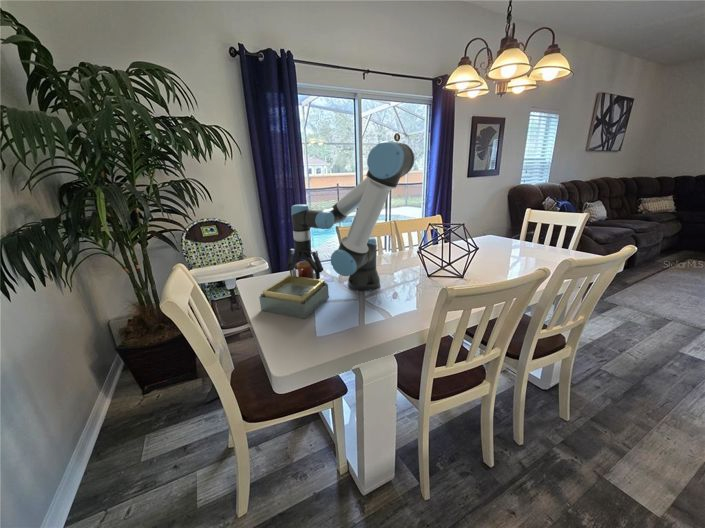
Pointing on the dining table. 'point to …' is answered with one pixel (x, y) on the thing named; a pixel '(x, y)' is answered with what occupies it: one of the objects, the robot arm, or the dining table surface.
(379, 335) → the dining table surface
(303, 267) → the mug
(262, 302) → the yellow rimmed grey box
